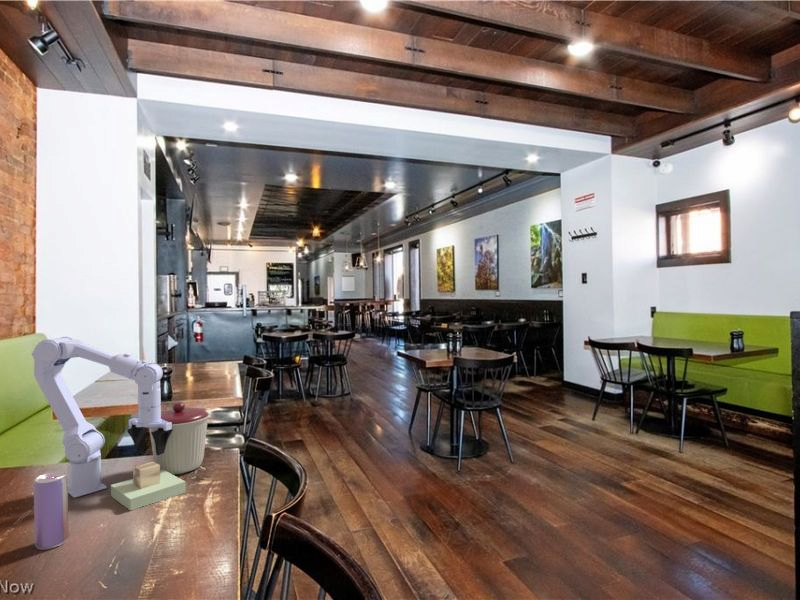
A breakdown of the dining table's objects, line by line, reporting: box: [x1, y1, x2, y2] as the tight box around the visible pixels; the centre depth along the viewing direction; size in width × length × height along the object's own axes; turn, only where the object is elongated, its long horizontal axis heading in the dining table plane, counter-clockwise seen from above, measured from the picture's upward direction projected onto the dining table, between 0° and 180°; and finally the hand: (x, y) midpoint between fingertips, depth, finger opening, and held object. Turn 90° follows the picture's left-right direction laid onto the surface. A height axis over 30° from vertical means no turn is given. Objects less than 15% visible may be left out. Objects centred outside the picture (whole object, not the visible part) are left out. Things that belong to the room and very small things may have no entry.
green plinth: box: [110, 470, 187, 511], centre depth 126 cm, size 14×14×3 cm
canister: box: [148, 401, 211, 476], centre depth 144 cm, size 18×18×21 cm
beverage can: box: [33, 471, 70, 551], centre depth 101 cm, size 6×6×15 cm
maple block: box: [132, 460, 160, 489], centre depth 126 cm, size 5×5×5 cm
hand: (150, 452), depth 132 cm, fingers open, 7 cm apart
